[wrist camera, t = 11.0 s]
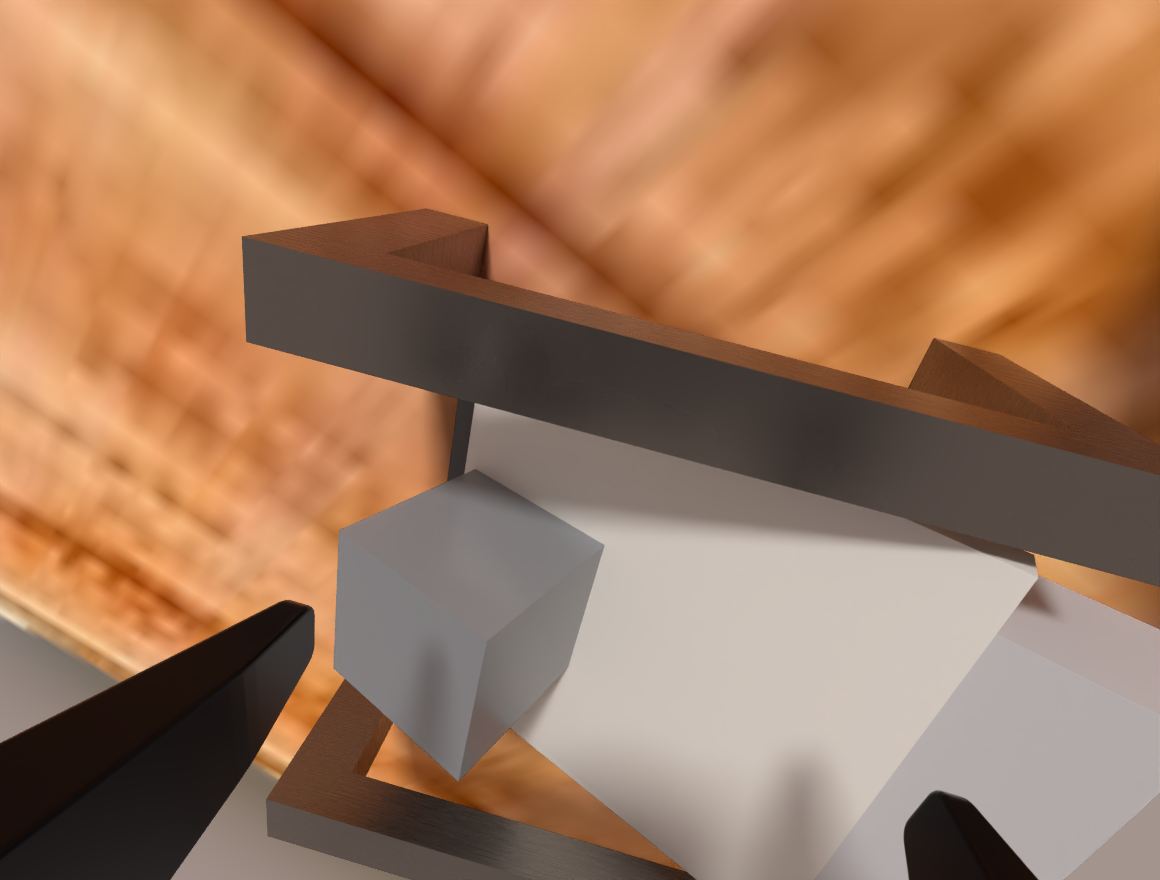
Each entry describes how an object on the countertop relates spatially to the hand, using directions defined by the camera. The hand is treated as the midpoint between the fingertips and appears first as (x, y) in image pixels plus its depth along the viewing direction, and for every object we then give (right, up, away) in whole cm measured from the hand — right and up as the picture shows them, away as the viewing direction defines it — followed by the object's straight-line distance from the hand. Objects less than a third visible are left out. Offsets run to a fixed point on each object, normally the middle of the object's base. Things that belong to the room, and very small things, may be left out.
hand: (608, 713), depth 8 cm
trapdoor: (+5, -1, +12) cm, 13 cm away
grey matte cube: (-2, 0, +10) cm, 11 cm away
